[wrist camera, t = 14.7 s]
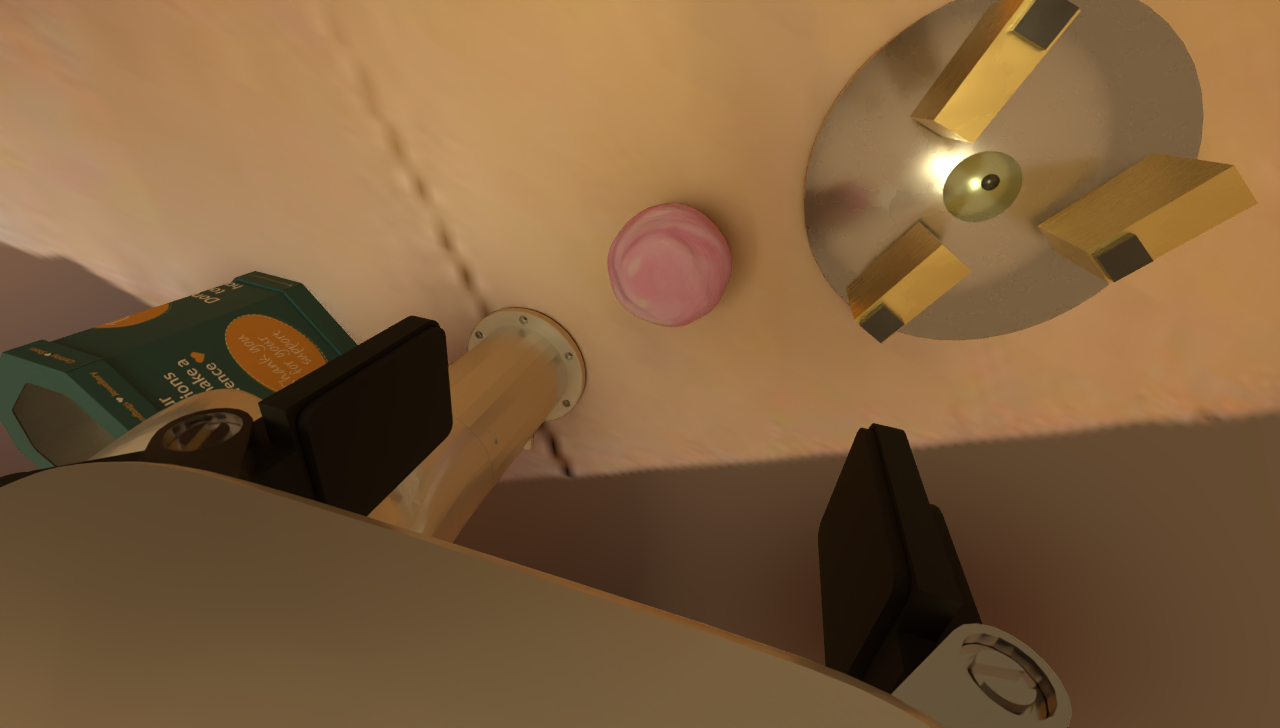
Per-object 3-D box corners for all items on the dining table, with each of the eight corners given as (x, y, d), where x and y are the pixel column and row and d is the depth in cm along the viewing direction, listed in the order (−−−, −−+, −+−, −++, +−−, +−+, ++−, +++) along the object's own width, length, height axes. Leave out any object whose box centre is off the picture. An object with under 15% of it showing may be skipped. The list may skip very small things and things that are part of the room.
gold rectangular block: (941, 135, 32) (976, 144, 26) (909, 116, 32) (936, 120, 26) (1025, 27, 29) (1087, 8, 23) (989, 5, 29) (1042, -19, 23)
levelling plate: (1063, 356, 38) (1079, 371, 36) (772, 298, 42) (771, 309, 40) (1275, 5, 27) (1315, -3, 25) (858, -31, 31) (863, -40, 29)
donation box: (311, 421, 65) (30, 610, 41) (213, 321, 61) (-159, 465, 37) (378, 368, 58) (84, 560, 34) (272, 250, 54) (-146, 372, 30)
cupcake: (697, 167, 39) (671, 186, 30) (759, 258, 41) (751, 300, 32) (613, 234, 43) (569, 267, 35) (673, 314, 45) (645, 364, 36)
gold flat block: (1153, 152, 30) (1243, 166, 24) (1173, 184, 30) (1267, 205, 24) (1037, 226, 33) (1091, 254, 27) (1056, 253, 33) (1115, 287, 27)
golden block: (918, 221, 35) (945, 247, 29) (943, 244, 35) (975, 274, 29) (845, 288, 38) (855, 323, 32) (868, 308, 38) (883, 347, 32)
